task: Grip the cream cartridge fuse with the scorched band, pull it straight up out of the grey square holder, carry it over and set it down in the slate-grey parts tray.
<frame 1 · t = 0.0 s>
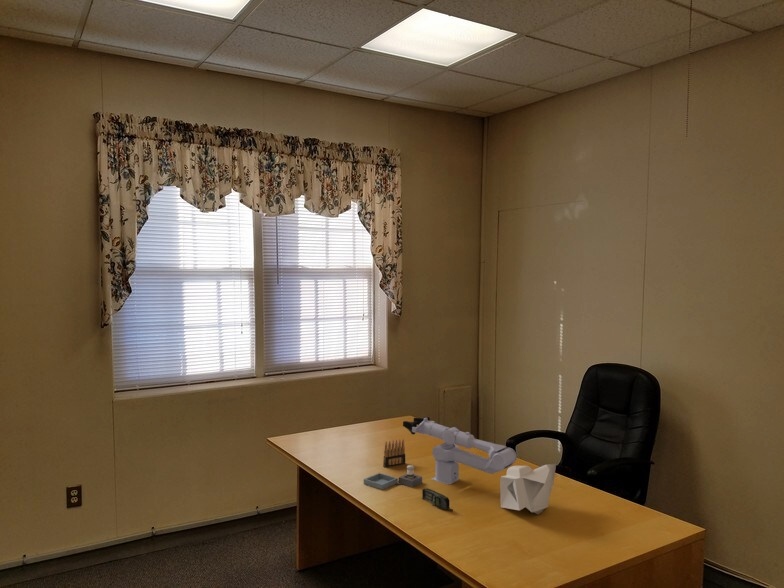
hand: (408, 421, 258), 22 cm above the table, tool horizontal, fingers open, 7 cm apart
ammunition clip: (394, 466, 264), on the table
grey square holder: (410, 484, 242), on the table
folded paper: (534, 509, 218), on the table
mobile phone: (437, 506, 221), on the table
fuse: (410, 482, 242), resting on grey square holder
parts tray: (380, 484, 241), on the table
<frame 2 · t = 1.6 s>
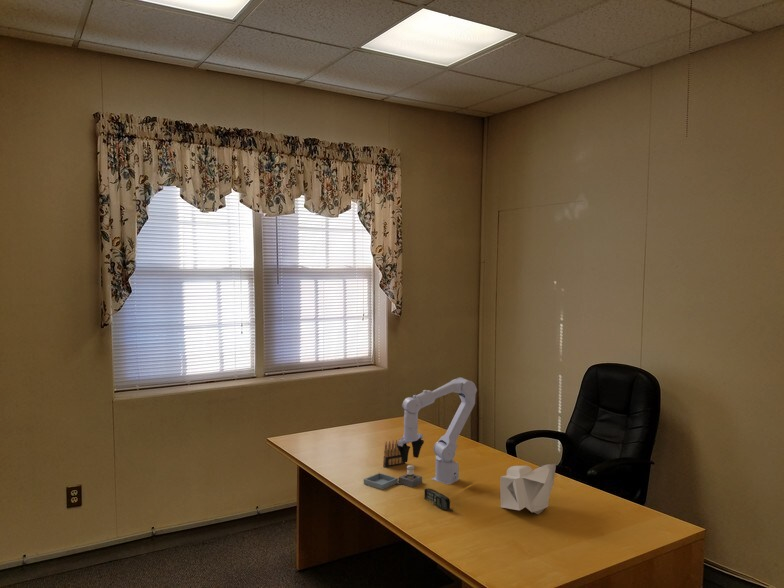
hand: (410, 459, 242), 10 cm above the table, tool pointing down, fingers open, 7 cm apart
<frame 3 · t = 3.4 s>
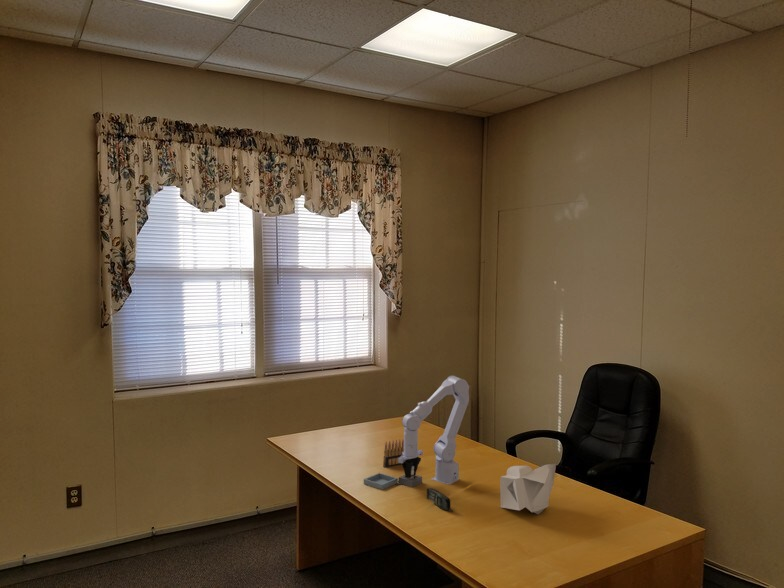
hand: (410, 475, 242), 3 cm above the table, tool pointing down, fingers closed on fuse, 3 cm apart
fuse: (410, 482, 242), point 1 cm above the table, touching grey square holder, gripper
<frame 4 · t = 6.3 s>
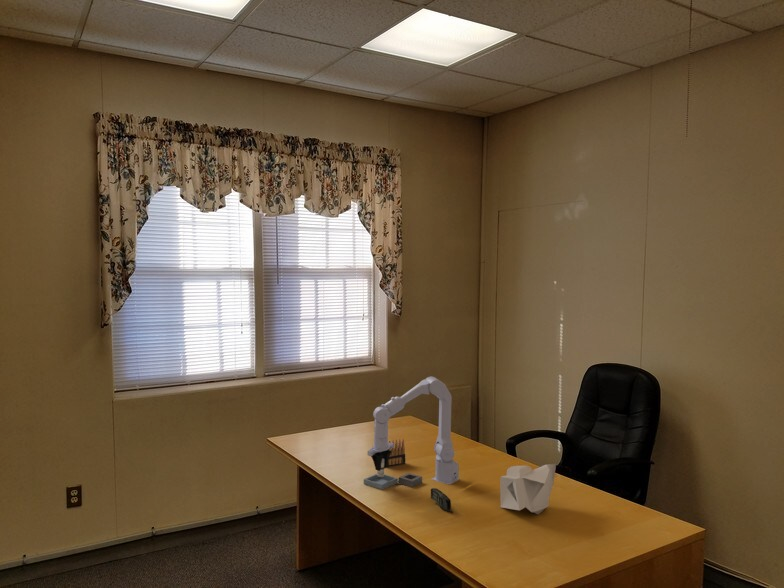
hand: (380, 469, 241), 7 cm above the table, tool pointing down, fingers closed on fuse, 3 cm apart
fuse: (380, 475, 241), point 4 cm above the table, touching gripper
when the fingers open (5 cm above the table, at t = 7.3 s): fuse drops 1 cm, resting on parts tray.
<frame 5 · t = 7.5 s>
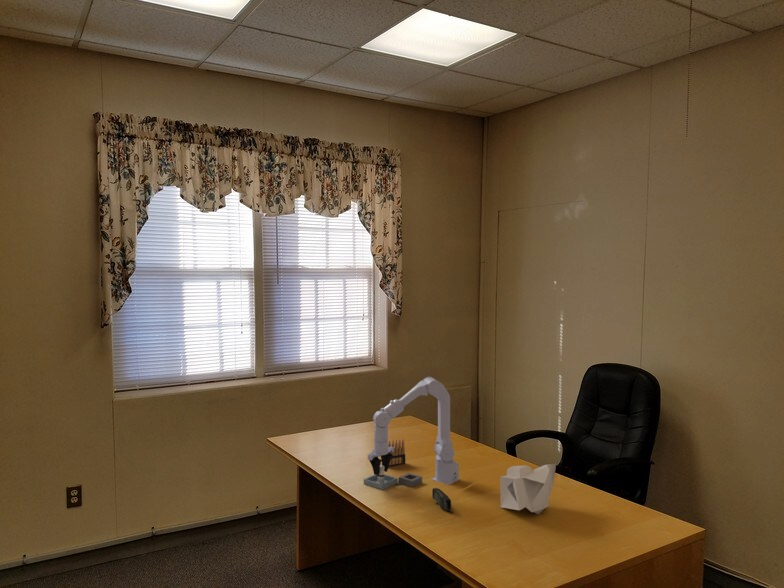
hand: (380, 472, 241), 5 cm above the table, tool pointing down, fingers open, 5 cm apart
fuse: (380, 483, 241), point 1 cm above the table, touching parts tray
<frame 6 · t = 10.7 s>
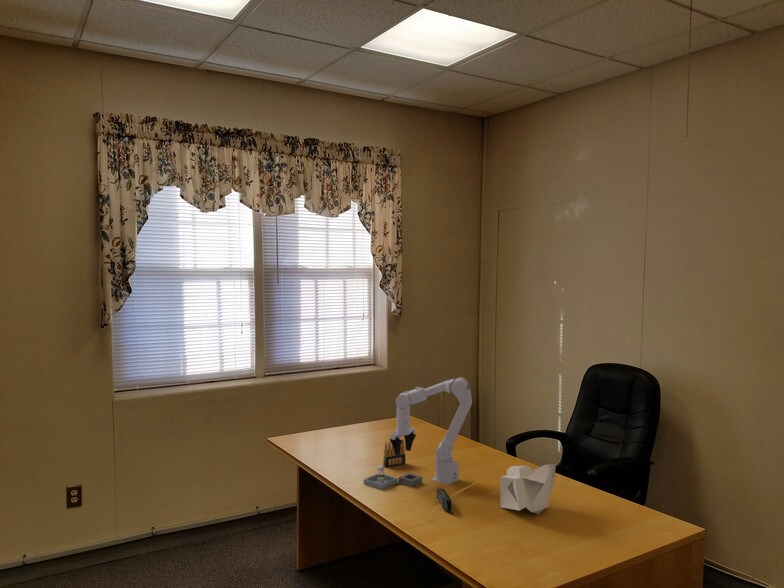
hand: (402, 452, 251), 10 cm above the table, tool pointing down, fingers open, 7 cm apart
at the end: fuse inside the target area on the parts tray (0.0 cm from its centre), point 0.6 cm above the parts tray's base; fuse moved 12.4 cm from its start; the gripper is holding nothing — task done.
